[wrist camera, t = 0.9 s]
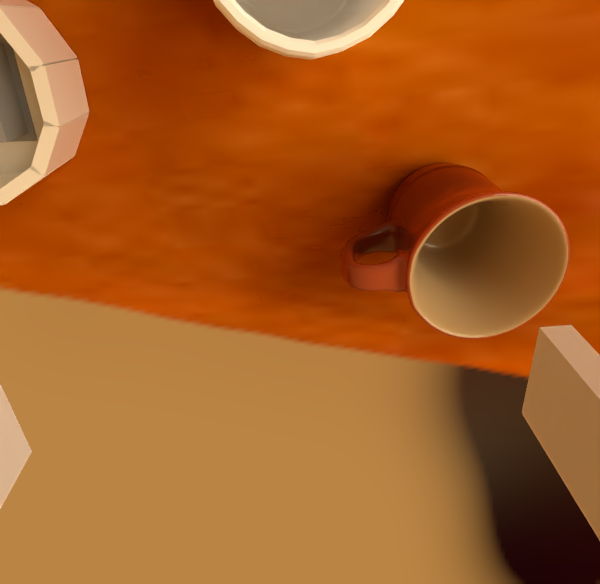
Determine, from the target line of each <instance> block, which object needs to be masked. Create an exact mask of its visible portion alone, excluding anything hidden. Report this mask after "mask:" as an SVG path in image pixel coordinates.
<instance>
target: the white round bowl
mask: <svg viewBox="0 0 600 584" xmlns="http://www.w3.org/2000/svg"><path fill="white" fill-rule="evenodd" d="M76 58H77V56H76V55H75V54H74V52H73V51H72V50H71V48H70V47H69V46H68V44H67V43H66V42H65V40H64V39H63V38H62V36H61V35H60V34H59V32H58V31H57V30H56V28H55V27H54V26H53V24H52V23H51V22H50V21H49V19H48V18H47V17H46V15H45V14H44V13H43V11H42V10H41V9H40V8H39V7H38V6H36V5H34V4H32V3H31V2H29V1H27V0H0V205H4V204H7V203H8V202H10V201H11V200H12V199H14V198H15V197H17V196H18V195H20V194H21V193H23V192H24V191H26V190H27V189H29V188H30V187H31V186H33V185H34V184H36V183H37V182H39V181H40V180H42V179H43V178H45V177H46V176H47V175H49V174H50V173H52V172H53V171H54V170H56V169H57V168H59V167H60V166H62V165H63V164H64V163H66V162H67V161H69V160H70V159H71V158H73V157H74V156H75V154H76V151H77V148H78V145H79V142H80V139H81V136H82V133H83V130H84V128H85V125H86V122H87V119H88V116H89V113H88V112H89V107H88V103H87V98H86V93H85V89H84V84H83V79H82V75H81V70H80V65H79V61H78V59H76Z"/></svg>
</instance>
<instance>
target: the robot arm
mask: <svg viewBox="0 0 600 584" xmlns="http://www.w3.org/2000/svg"><path fill="white" fill-rule="evenodd" d="M522 414H523V416H524V417H525V419H526V421H527V422H528V424H529V426H530V427H531V429H532V431H533V432H534V434H535V435H536V437H537V439H538V440H539V442H540V444H541V445H542V447H543V449H544V450H545V452H546V453H547V455H548V457H549V458H550V460H551V462H552V463H553V465H554V466H555V468H556V470H557V471H558V473H559V475H560V476H561V478H562V480H563V481H564V483H565V485H566V486H567V488H568V489H569V491H570V493H571V494H572V496H573V498H574V499H575V501H576V502H577V504H578V506H579V507H580V509H581V511H582V512H583V514H584V516H585V517H586V518H587V520H588V522H589V524H590V525H591V527H592V528H593V530H594V532H595V534H596V535H597V537H598V538H599V540H600V355H599V354H598V353H597V352H596V351H595V350H594V349H593V347H592V346H591V345H590V344H589V343H588V342H587V341H586V340H585V339H584V338H583V337H582V336H581V335H580V334H579V333H578V332H577V330H576V329H575V328H574V327H573V326H572V325H564V326H551V327H540V328H539V333H538V338H537V343H536V347H535V352H534V357H533V362H532V366H531V371H530V376H529V381H528V386H527V390H526V395H525V400H524V405H523V409H522ZM31 452H32V451H31V449H30V447H29V444H28V442H27V440H26V438H25V436H24V434H23V431H22V429H21V427H20V425H19V423H18V421H17V419H16V417H15V414H14V412H13V410H12V408H11V406H10V404H9V401H8V399H7V397H6V395H5V393H4V391H3V389H2V386H1V384H0V508H1V507H2V505H3V503H4V501H5V499H6V497H7V496H8V494H9V492H10V490H11V488H12V486H13V485H14V483H15V481H16V479H17V478H18V475H19V474H20V472H21V470H22V468H23V467H24V465H25V463H26V461H27V459H28V458H29V456H30V454H31Z"/></svg>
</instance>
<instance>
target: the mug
mask: <svg viewBox="0 0 600 584" xmlns="http://www.w3.org/2000/svg"><path fill="white" fill-rule="evenodd" d="M374 252H391V253H396V254H397V256H396V257H394V258H393V259H391V260H389V261H387V262H384V263H380V264H374V265H363V264H359V263H357V261H358V259H360V258H361V257H363V256H364V255H367V254H369V253H374ZM569 258H570V244H569V238H568V234H567V231H566V228H565V226H564V224H563V222H562V221H561V219H560V218H559V216H558V215H557V214H556V213H555V212H554V210H553V209H552V208H550V207H549V206H548V205H547V204H545V203H544V202H542V201H540V200H538V199H536V198H534V197H532V196H529V195H526V194H522V193H517V192H508V191H502V190H501V189H499V188H498V187H497V186H496V185H495V184H493V183H492V182H491V181H489V180H488V179H487V178H486V177H485V176H484V175H483V174H481V173H480V172H478V171H476V170H474V169H472V168H469V167H466V166H460V165H457V164H452V163H436V164H432V165H428V166H425V167H423V168H421V169H418V170H417V171H415V172H413V173H412V174H411V175H409V176H408V177H407V178H406V179H405V180H404V181H403V182H402V183H401V184H400V185H399V187H398V188H397V189H396V191H395V193H394V194H393V196H392V198H391V200H390V204H389V209H388V222H384V223H381V224H379V225H377V226H375V227H373V228H371V229H369V230H367V231H365V232H362V233H360V234H358V235H356V236H354V237H352V238H351V239H350V240H348V241H347V242H346V244H345V245H344V246H343V248H342V250H341V255H340V263H341V271H342V275H343V278H344V280H345V282H346V283H347V284H348V285H349V286H351V287H352V288H354V289H357V290H361V291H393V292H407V293H408V296H409V300H410V303H411V306H412V308H413V309H414V311H415V312H416V313H417V314H418V316H419V317H420V318H421V319H422V320H423V321H424V322H426V323H427V324H428V325H429V326H430V327H432V328H434V329H435V330H437V331H439V332H441V333H443V334H446V335H448V336H452V337H456V338H462V339H482V338H489V337H494V336H498V335H501V334H504V333H507V332H509V331H512V330H514V329H516V328H518V327H520V326H521V325H523V324H525V323H526V322H528V321H529V320H531V319H532V318H534V317H535V316H536V315H537V314H538V313H540V312H541V311H542V310H543V309H544V308H545V307H546V306H547V305H548V303H549V302H550V301H551V300H552V299H553V297H554V296H555V294H556V293H557V291H558V290H559V288H560V286H561V284H562V282H563V280H564V278H565V275H566V272H567V269H568V264H569Z"/></svg>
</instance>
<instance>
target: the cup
mask: <svg viewBox="0 0 600 584" xmlns="http://www.w3.org/2000/svg"><path fill="white" fill-rule="evenodd" d="M213 1H214V4H215V6H216V7H217V8H218V9H219V10H220V11H221V13H222V14H223V15H224V16H225V17H226V18H227V19H228V21H229V22H230V23H231V24H232V25H233V26H234V27H235V29H237V30H238V31H239V32H241V33H242V34H243V35H245V36H246V37H247V38H249V39H250V40H251V41H253V42H254V43H255V44H257V45H258V46H259V47H262V48H265V49H267V50H270V51H272V52H275V53H278V54H280V55H283V56H287V57H295V58H302V59H310V60H312V59H316V58H320V57H324V56H328V55H332V54H336V53H339V52H341V51H344V50H346V49H347V48H349V47H351V46H353V45H355V44H357V43H359V42H361V41H363V40H365V39H367V38H369V37H370V36H371V35H372V34H374V33H375V32H376V31H377V30H378V29H379V28H380V27H381V26H382V25H383V24H384V23H386V22H387V21H388V20H389V19H390V18H391V17H392V16H393V15H394V14H395V12H396V11H397V10H398V8H399V7H400V5H401V4H402V3H403V1H404V0H213Z"/></svg>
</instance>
